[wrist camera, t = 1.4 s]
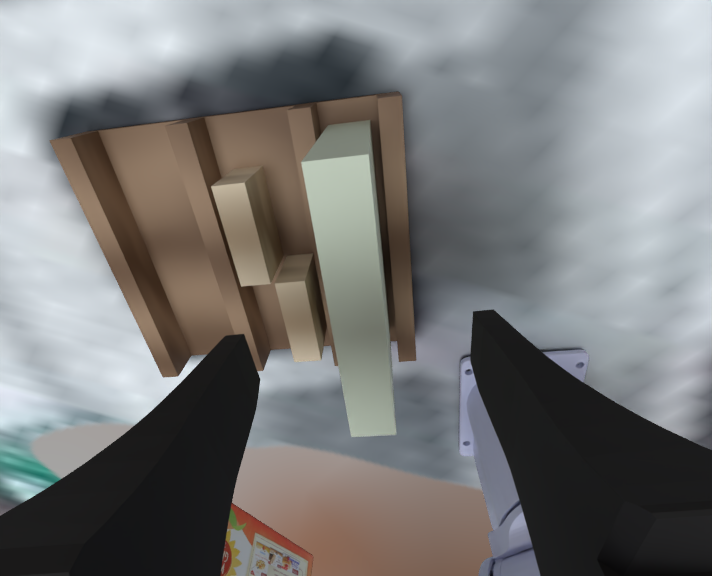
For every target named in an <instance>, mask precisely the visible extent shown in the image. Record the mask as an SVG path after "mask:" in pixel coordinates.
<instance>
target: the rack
mask: <svg viewBox="0 0 712 576" xmlns="http://www.w3.org/2000/svg"><path fill="white" fill-rule="evenodd" d="M366 120H370V122H371V133H372V143H373V154H374V165H375V176H376V186H377V197H378V208H379V219H380V230H381V240H382V251H383V262H384V273H385V283H386V294H387V305H388V316H389V326H390V341H397V344H398V355H399V362H403V361H416V347H415V329H414V311H413V292H412V274H411V256H410V237H409V219H408V201H407V182H406V164H405V146H404V128H403V109H402V95H401V94H400V93H399V92H391V93H383V94H375V95H367V96H360V97H352V98H344V99H336V100H329V101H321V102H313V103H305V104H298V105H290V106H282V107H274V108H267V109H259V110H251V111H243V112H236V113H228V114H220V115H212V116H205V117H197V118H189V119H181V120H174V121H166V122H158V123H150V124H143V125H135V126H127V127H119V128H112V129H104V130H96V131H89V132H83V133H79V134H75V135H71V136H67V137H62V138H58V139H54V140H50V143H51V145H52V147H53V149H54V151H55V153H56V155H57V157H58V159H59V161H60V164H61V166H62V168H63V170H64V172H65V174H66V176H67V178H68V180H69V182H70V184H71V186H72V189H73V191H74V193H75V195H76V197H77V199H78V201H79V203H80V205H81V207H82V209H83V212H84V214H85V216H86V218H87V220H88V222H89V224H90V226H91V228H92V230H93V232H94V234H95V237H96V239H97V241H98V243H99V245H100V247H101V249H102V251H103V253H104V255H105V257H106V259H107V262H108V264H109V266H110V268H111V270H112V272H113V274H114V276H115V278H116V280H117V282H118V285H119V287H120V289H121V291H122V293H123V295H124V297H125V299H126V301H127V303H128V305H129V307H130V310H131V312H132V314H133V316H134V318H135V320H136V322H137V324H138V326H139V328H140V330H141V332H142V335H143V337H144V339H145V341H146V343H147V345H148V347H149V349H150V351H151V353H152V355H153V358H154V360H155V362H156V364H157V366H158V368H159V370H160V372H161V374H162V376H163V377H176V376H179V374H180V373H181V371H182V370H183V368H184V366H185V365H186V363H187V362H188V360H189V358H190V357H191V355H204V354H208V353H209V352H210V351H211V350H212V349H213V348H214V347H215V346H216V345H217V344H218V343H219V342H220V341H221V340H222V339H223V338H224V337H225V336H226V335H237V334H244V335H245V338H246V341H247V343H248V346H249V349H250V352H251V355H252V358H253V361H254V363H255V366H256V369H257V371H263V370H264V367H265V364H266V361H267V359H268V356H269V353H270V350H274V349H288V348H291V346H290V342H289V338H288V334H287V331H286V327H285V323H284V319H283V315H282V311H281V307H280V303H279V299H278V295H277V291H276V287H275V282H276V279H277V277H278V275H279V273H280V271H281V268H282V266H283V264H284V262H285V259H286V257H287V256H291V255H302V254H312V253H313V254H314V260H315V265H316V270H317V276H318V281H319V286H320V292H321V297H322V302H323V307H324V313H325V318H326V323H327V330H326V335H325V341H324V346H331V347H332V353H333V358H334V363H335V366H338V361H337V356H336V350H335V345H334V339H333V334H332V328H331V323H330V317H329V312H328V306H327V301H326V295H325V290H324V284H323V279H322V274H321V268H320V263H319V257H318V252H317V246H316V241H315V235H314V230H313V224H312V219H311V213H310V208H309V202H308V197H307V191H306V186H305V181H304V175H303V170H302V164H301V162H302V160H303V159H304V157H305V156H306V155H307V153H308V152H309V151H310V149H311V148H312V147H313V145H314V144H315V142H316V141H317V140H318V138H319V137H320V136H321V134H322V133H323V131H324V130H325V129H326V127H327V126H328V125H333V124H341V123H349V122H357V121H366ZM257 166H263V169H264V173H265V178H266V182H267V186H268V191H269V195H270V199H271V204H272V208H273V212H274V217H275V221H276V225H277V230H278V234H279V238H280V243H281V247H282V251H283V259H282V261H281V263H280V265H279V267H278V269H277V271H276V274H275V276H274V278H273V280H272V282H271V284H265V285H253V286H242V287H241V284H240V281H239V278H238V274H237V271H236V268H235V264H234V261H233V258H232V254H231V251H230V248H229V245H228V241H227V238H226V235H225V231H224V228H223V225H222V221H221V218H220V215H219V212H218V208H217V205H216V202H215V198H214V195H213V192H212V188H211V186H212V185H213V184H215V183H216V182H217V181H219V180H220V179H221V178H223V177H224V176H225V175H227V174H228V173H229V172H231V171H232V170H233V169H239V168H248V167H257Z"/></svg>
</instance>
